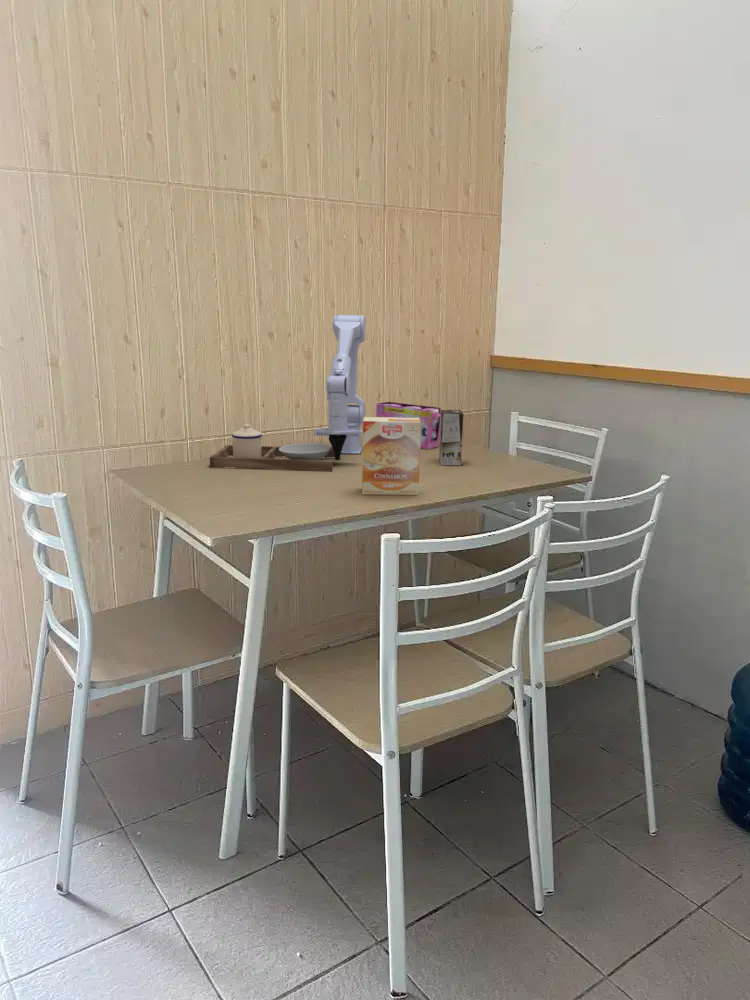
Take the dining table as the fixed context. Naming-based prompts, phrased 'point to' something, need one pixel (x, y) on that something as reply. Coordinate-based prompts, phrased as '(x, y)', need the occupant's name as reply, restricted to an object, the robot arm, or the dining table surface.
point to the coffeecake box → (391, 455)
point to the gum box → (424, 413)
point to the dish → (306, 451)
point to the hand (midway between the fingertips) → (337, 459)
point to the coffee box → (451, 437)
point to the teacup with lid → (247, 443)
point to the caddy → (269, 460)
